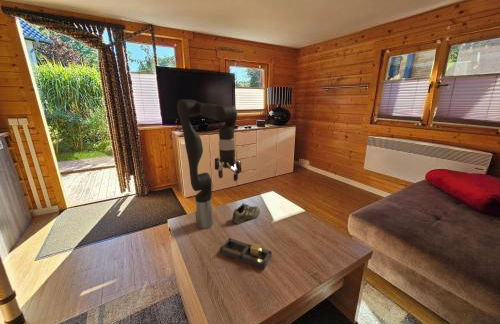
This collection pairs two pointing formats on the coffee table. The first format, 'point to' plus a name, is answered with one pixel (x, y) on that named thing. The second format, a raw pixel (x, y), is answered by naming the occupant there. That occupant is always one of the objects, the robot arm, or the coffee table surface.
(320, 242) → the coffee table surface
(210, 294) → the coffee table surface
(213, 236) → the coffee table surface
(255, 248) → the block
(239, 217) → the hiking shoe
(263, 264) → the dark grey rectangular tray
